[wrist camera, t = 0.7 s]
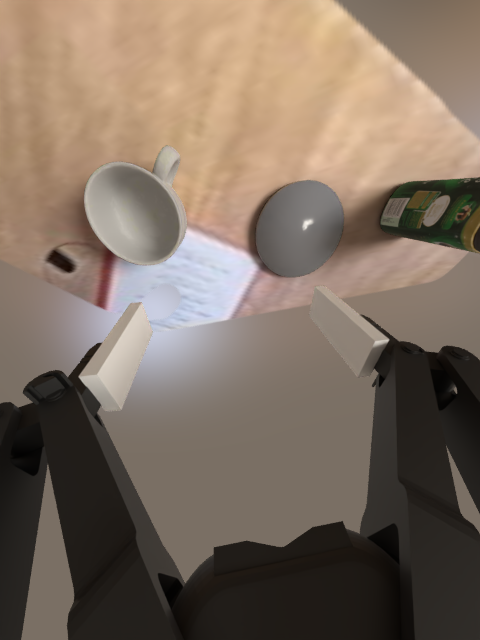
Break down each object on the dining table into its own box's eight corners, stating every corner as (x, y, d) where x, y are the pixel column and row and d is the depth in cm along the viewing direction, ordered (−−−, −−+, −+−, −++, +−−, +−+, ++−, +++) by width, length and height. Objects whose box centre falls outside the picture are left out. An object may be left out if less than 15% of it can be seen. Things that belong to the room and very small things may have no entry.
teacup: (160, 264, 33) (146, 282, 26) (97, 210, 28) (61, 214, 21) (218, 203, 29) (219, 205, 22) (158, 126, 24) (136, 100, 17)
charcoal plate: (237, 243, 33) (238, 245, 31) (299, 155, 27) (303, 153, 26) (295, 288, 38) (298, 291, 37) (355, 223, 33) (360, 224, 32)
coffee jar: (444, 188, 32) (665, 182, 16) (413, 239, 36) (565, 272, 20) (396, 175, 30) (593, 154, 14) (369, 230, 34) (499, 259, 18)
